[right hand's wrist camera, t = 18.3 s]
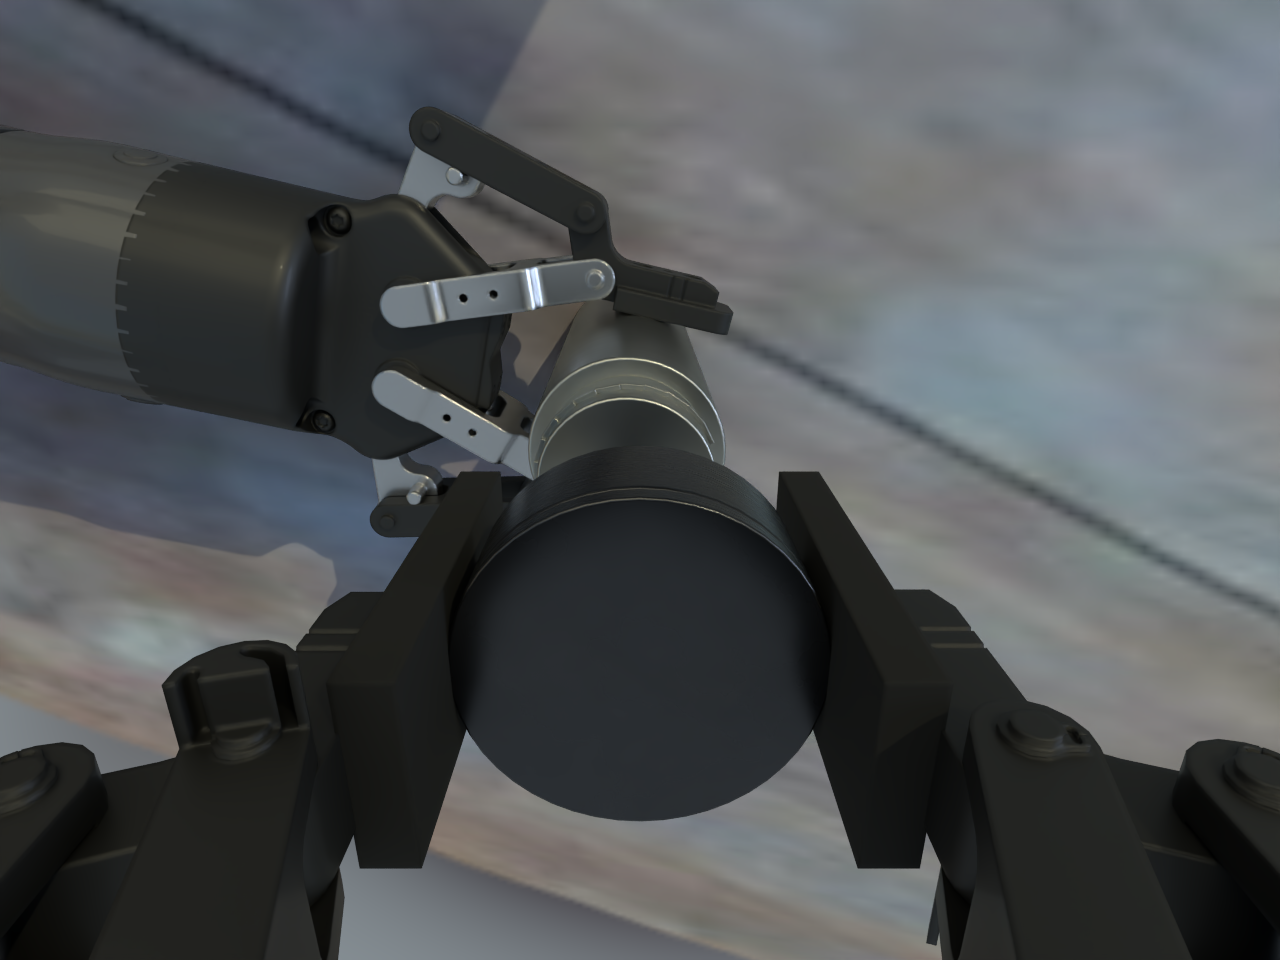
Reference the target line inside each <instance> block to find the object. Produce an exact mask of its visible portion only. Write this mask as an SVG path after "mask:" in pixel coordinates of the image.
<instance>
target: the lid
mask: <svg viewBox="0 0 1280 960" xmlns="http://www.w3.org/2000/svg"><path fill="white" fill-rule="evenodd" d="M448 656H449V666H450V676H451V684H452V692H453V699H454V701H455V704H456V707H457V710H458V713H459V715H460V718H461V719H462V721H463V723H464V725H465V727H466V729H467V731H468V733H469V735H470V736H471V737H472V739H473V740H474V742H475V743H476V744H477V746H478V747H479V748H480V750H481V751H482V753H483V754H484V755H485V756H486V757H487V758H488V759H489V760H490V761H491V762H492V763H493V764H494V765H495V766H496V767H497V768H498V769H499V770H500V771H501V772H503V773H504V774H505V775H506V776H507V777H509V778H510V779H511V780H512V781H513V782H515V783H517V784H518V785H520V786H521V787H523V788H524V789H526V790H527V791H529V792H530V793H532V794H534V795H536V796H538V797H540V798H542V799H544V800H546V801H548V802H550V803H552V804H555V805H557V806H560V807H563V808H566V809H568V810H571V811H574V812H578V813H582V814H586V815H590V816H594V817H599V818H606V819H613V820H624V821H654V820H667V819H673V818H679V817H686V816H690V815H693V814H697V813H701V812H705V811H708V810H711V809H714V808H716V807H719V806H722V805H724V804H727V803H729V802H731V801H733V800H735V799H737V798H739V797H741V796H743V795H745V794H747V793H749V792H750V791H752V790H754V789H755V788H757V787H758V786H760V785H761V784H763V783H764V782H766V781H767V780H768V779H770V778H771V777H772V776H773V775H774V774H775V773H777V772H778V771H779V770H780V769H781V768H783V767H784V766H785V765H786V764H787V763H788V761H789V760H790V759H791V758H792V757H793V756H794V755H795V754H796V753H797V752H798V751H799V749H800V748H801V746H802V745H803V744H804V742H805V741H806V739H807V738H808V736H809V735H810V734H811V732H812V730H813V728H814V726H815V724H816V722H817V720H818V718H819V716H820V714H821V712H822V709H823V706H824V703H825V700H826V695H827V687H828V678H829V669H830V659H831V638H830V630H829V627H828V623H827V620H826V616H825V613H824V609H823V607H822V605H821V603H820V600H819V598H818V596H817V594H816V591H815V589H814V587H813V585H812V582H811V580H810V578H809V576H808V573H807V571H806V569H805V567H804V564H803V562H802V560H801V558H800V555H799V553H798V551H797V549H796V546H795V544H794V542H793V540H792V538H791V536H790V533H789V531H788V529H787V527H786V525H785V523H784V522H783V520H782V519H781V517H780V516H779V514H778V513H777V511H776V510H775V508H774V507H773V506H772V505H771V504H770V503H769V501H768V500H767V499H766V498H765V497H764V496H763V495H762V494H761V493H760V492H759V491H758V490H757V489H756V488H755V487H753V486H752V485H751V484H750V483H749V482H748V481H746V480H745V479H744V478H742V477H741V476H739V475H738V474H736V473H735V472H733V471H731V470H730V469H728V468H727V467H725V466H723V465H720V464H718V463H716V462H714V461H712V460H710V459H708V458H705V457H702V456H699V455H696V454H693V453H690V452H687V451H683V450H677V449H672V448H666V447H659V446H641V445H637V446H622V447H613V448H608V449H603V450H597V451H593V452H590V453H587V454H584V455H581V456H578V457H575V458H572V459H570V460H568V461H565V462H563V463H561V464H559V465H557V466H555V467H553V468H551V469H550V470H548V471H547V472H545V473H543V474H542V475H540V476H539V477H537V478H536V479H534V480H533V481H532V482H531V483H530V484H528V485H527V486H526V487H525V488H524V489H523V490H521V491H520V492H519V493H518V494H517V495H516V496H515V497H514V499H513V500H512V501H511V502H510V503H509V504H508V505H507V507H506V508H505V509H504V510H503V512H502V513H501V515H500V516H499V518H498V520H497V521H496V523H495V524H494V526H493V528H492V530H491V532H490V534H489V536H488V539H487V541H486V543H485V545H484V548H483V550H482V552H481V554H480V557H479V559H478V561H477V564H476V566H475V568H474V570H473V573H472V575H471V577H470V580H469V582H468V584H467V587H466V589H465V591H464V593H463V596H462V598H461V600H460V603H459V605H458V607H457V609H456V612H455V616H454V620H453V623H452V627H451V630H450V636H449V645H448Z"/></svg>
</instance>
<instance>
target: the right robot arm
mask: <svg viewBox="0 0 1280 960" xmlns="http://www.w3.org/2000/svg"><path fill="white" fill-rule="evenodd" d="M776 511H777V513H778V514H779V516H780V517H781V519H782V520H783V522H784V523H785V525H786V527H787V529H788V531H789V533H790V536H791V538H792V540H793V542H794V544H795V546H796V549H797V551H798V553H799V555H800V558H801V560H802V562H803V564H804V567H805V569H806V571H807V573H808V576H809V578H810V580H811V582H812V585H813V587H814V589H815V591H816V594H817V596H818V598H819V600H820V603H821V605H822V607H823V609H824V613H825V616H826V620H827V623H828V627H829V630H830V638H831V659H830V669H829V678H828V687H827V695H826V700H825V703H824V706H823V709H822V712H821V714H820V716H819V718H818V720H817V722H816V724H815V726H814V728H813V731H814V734H815V737H816V740H817V743H818V746H819V749H820V752H821V756H822V759H823V762H824V765H825V768H826V771H827V774H828V777H829V780H830V783H831V787H832V790H833V793H834V796H835V799H836V802H837V805H838V808H839V811H840V814H841V818H842V821H843V824H844V827H845V830H846V833H847V836H848V839H849V842H850V846H851V849H852V852H853V855H854V858H855V861H856V864H857V867H858V868H920V864H921V859H922V853H923V848H924V843H925V837H926V832H927V834H928V837H929V839H930V841H931V843H932V846H933V848H934V850H935V852H936V855H937V857H938V859H939V861H940V864H941V868H940V873H939V878H938V883H937V888H936V893H935V898H934V903H933V908H932V913H931V919H930V924H929V929H928V936H927V942H926V943H928V944H932V945H937V940H938V935H939V934H940V943H941V952H942V960H1280V754H1279V753H1277V752H1274V751H1271V750H1269V749H1266V748H1260V747H1259V746H1256V745H1252V744H1248V743H1244V742H1237V741H1230V740H1222V739H1214V740H1207V741H1199V742H1197V743H1195V744H1194V745H1193V746H1192V747H1190V748H1189V749H1188V750H1186V753H1185V756H1184V759H1183V762H1182V765H1181V768H1180V771H1176V770H1171V769H1166V768H1162V767H1157V766H1152V765H1148V764H1143V763H1138V762H1133V761H1129V760H1124V759H1120V758H1116V757H1113V756H1109V755H1105V754H1103V752H1102V750H1101V747H1100V746H1099V745H1098V743H1097V742H1096V741H1095V739H1094V738H1093V736H1092V735H1091V734H1090V732H1089V731H1088V730H1086V729H1085V728H1084V727H1082V726H1081V725H1080V724H1078V723H1077V722H1076V721H1074V720H1073V719H1072V718H1070V717H1069V716H1066V715H1064V714H1062V713H1060V712H1058V711H1056V710H1054V709H1052V708H1049V707H1047V706H1044V705H1040V704H1036V703H1033V702H1029V701H1027V700H1026V699H1025V698H1024V696H1023V695H1022V694H1021V692H1020V691H1019V690H1018V688H1017V687H1016V686H1015V685H1014V683H1013V682H1012V681H1011V679H1010V678H1009V677H1008V675H1007V674H1006V673H1005V671H1004V670H1003V669H1002V667H1001V666H1000V665H999V664H998V662H997V661H996V660H995V658H994V657H993V656H992V654H991V653H990V652H989V650H988V649H987V648H984V644H983V642H982V641H981V640H980V639H979V637H978V636H977V635H976V633H975V632H974V631H971V627H970V625H969V624H968V623H967V621H966V620H965V619H964V618H963V616H962V615H961V614H960V612H959V611H958V610H957V608H956V607H955V606H953V605H952V604H950V603H949V602H947V601H946V600H944V599H943V598H941V597H939V596H938V595H936V594H935V593H933V592H932V591H930V590H894V589H893V587H892V585H891V584H890V582H889V581H888V579H887V578H886V576H885V575H884V573H883V571H882V570H881V568H880V567H879V565H878V564H877V562H876V560H875V559H874V557H873V556H872V554H871V553H870V551H869V550H868V548H867V546H866V545H865V543H864V542H863V540H862V539H861V537H860V535H859V534H858V532H857V531H856V529H855V528H854V526H853V525H852V523H851V521H850V520H849V518H848V517H847V515H846V514H845V512H844V510H843V509H842V507H841V506H840V504H839V503H838V501H837V500H836V498H835V496H834V495H833V493H832V492H831V490H830V489H829V487H828V485H827V484H826V482H825V481H824V479H823V478H822V476H821V475H820V473H819V472H779V481H778V495H777V508H776ZM502 512H503V501H502V487H501V474H500V472H460V474H459V475H458V477H457V478H456V480H455V482H454V483H453V485H452V486H451V488H450V489H449V491H448V493H447V494H446V496H445V497H444V499H443V500H442V502H441V503H440V505H439V507H438V508H437V510H436V511H435V513H434V514H433V516H432V518H431V519H430V521H429V522H428V524H427V525H426V527H425V528H424V530H423V532H422V533H421V535H420V536H419V538H418V539H417V541H416V543H415V544H414V546H413V547H412V549H411V550H410V552H409V553H408V555H407V557H406V558H405V560H404V561H403V563H402V564H401V566H400V568H399V569H398V571H397V572H396V574H395V575H394V577H393V578H392V580H391V582H390V583H389V585H388V586H387V588H386V589H385V591H384V592H350V593H349V594H347V595H346V596H344V597H343V598H341V599H339V600H338V601H336V602H335V603H333V604H332V605H330V606H329V607H327V608H326V609H324V611H323V612H322V613H321V615H320V616H319V617H318V619H317V620H316V621H315V623H314V624H313V625H312V627H311V628H310V629H309V634H305V636H304V637H303V638H302V640H301V641H300V642H299V644H298V645H297V646H296V651H294V650H293V649H292V648H290V647H289V646H288V645H287V644H283V643H279V642H274V641H270V640H259V641H243V642H238V643H234V644H230V645H225V646H221V647H218V648H215V649H213V650H210V651H208V652H205V653H203V654H201V655H198V656H196V657H194V658H192V659H191V660H189V661H188V662H186V663H185V664H183V665H182V666H180V667H179V668H177V669H176V670H174V671H173V672H172V674H171V675H170V676H169V677H168V678H167V679H166V681H165V682H164V683H163V684H162V688H163V692H164V695H165V699H166V703H167V706H168V710H169V713H170V717H171V720H172V724H173V727H174V731H175V734H176V738H177V742H178V745H179V751H178V753H177V756H176V757H175V758H172V759H168V760H164V761H161V762H157V763H152V764H147V765H143V766H138V767H133V768H129V769H124V770H120V771H115V772H110V773H105V774H101V773H100V770H99V767H98V764H97V761H96V758H95V755H94V753H92V752H91V751H90V750H88V749H87V748H86V747H85V746H83V745H79V744H71V743H64V742H61V743H54V744H46V745H39V746H34V747H30V748H26V749H22V750H21V751H16V752H13V753H11V754H8V755H5V756H3V757H1V758H0V960H338V954H339V945H340V935H341V926H342V917H343V907H344V898H345V897H344V891H343V884H342V878H341V873H340V868H339V866H340V864H341V862H342V860H343V857H344V855H345V853H346V851H347V848H348V846H349V844H350V842H351V839H352V837H353V835H354V840H355V845H356V851H357V856H358V861H359V867H360V868H422V866H423V863H424V860H425V857H426V853H427V850H428V847H429V844H430V841H431V838H432V835H433V832H434V829H435V825H436V822H437V819H438V816H439V813H440V810H441V807H442V804H443V801H444V798H445V794H446V791H447V788H448V785H449V782H450V779H451V776H452V773H453V770H454V767H455V763H456V760H457V757H458V754H459V751H460V748H461V745H462V742H463V739H464V736H465V732H466V727H465V725H464V723H463V721H462V719H461V718H460V715H459V713H458V710H457V707H456V704H455V701H454V699H453V692H452V684H451V676H450V666H449V656H448V645H449V636H450V630H451V627H452V623H453V620H454V616H455V612H456V609H457V607H458V605H459V603H460V600H461V598H462V596H463V593H464V591H465V589H466V587H467V584H468V582H469V580H470V577H471V575H472V573H473V570H474V568H475V566H476V564H477V561H478V559H479V557H480V554H481V552H482V550H483V548H484V545H485V543H486V541H487V539H488V536H489V534H490V532H491V530H492V528H493V526H494V524H495V523H496V521H497V520H498V518H499V516H500V515H501V513H502Z"/></svg>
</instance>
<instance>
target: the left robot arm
mask: <svg viewBox="0 0 1280 960" xmlns="http://www.w3.org/2000/svg"><path fill="white" fill-rule="evenodd" d="M409 132H410V136H411V139H412V141H413V143H414V144H415V147H414V150H413V153H412V156H411V158H410V161H409V164H408V167H407V169H406V172H405V175H404V178H403V181H402V183H401V186H400V189H399V192H398V194H389V195H384V196H382V197H379V198H376V199H372V200H358V199H352V198H348V197H344V196H340V195H335V194H331V193H327V192H323V191H318V190H314V189H310V188H306V187H301V186H297V185H293V184H289V183H284V182H280V181H276V180H272V179H268V178H263V177H259V176H255V175H251V174H246V173H242V172H238V171H234V170H230V169H225V168H221V167H217V166H213V165H208V164H204V163H200V162H194V161H190V160H186V159H182V158H178V157H174V156H169V155H165V154H161V153H157V152H153V151H149V150H145V149H140V148H136V147H132V146H128V145H123V144H118V143H113V142H108V141H100V140H92V139H84V138H75V137H62V136H52V135H45V134H40V133H35V132H29V131H24V130H21V129H17V128H13V127H8V126H4V125H0V361H1V362H4V363H7V364H11V365H15V366H19V367H23V368H26V369H29V370H32V371H35V372H38V373H40V374H43V375H46V376H49V377H52V378H55V379H58V380H61V381H64V382H67V383H71V384H74V385H77V386H81V387H85V388H90V389H94V390H98V391H103V392H108V393H113V394H118V395H121V396H122V397H125V398H126V399H128V400H131V401H135V402H140V403H146V404H166V405H171V406H176V407H181V408H186V409H191V410H196V411H200V412H206V413H210V414H215V415H220V416H225V417H230V418H235V419H240V420H244V421H249V422H254V423H259V424H264V425H269V426H274V427H278V428H283V429H288V430H293V431H299V432H306V433H316V434H324V435H329V436H333V437H335V438H338V439H340V440H342V441H343V442H345V443H347V444H348V445H350V446H351V447H353V448H354V449H355V450H357V451H358V452H359V453H361V454H362V455H364V456H366V457H369V458H372V464H373V470H374V476H375V482H376V488H377V494H378V504H377V506H376V508H375V509H374V510H373V511H372V513H371V515H370V523H371V526H372V528H373V529H374V531H375V532H377V533H378V534H379V535H381V536H384V537H419V536H420V535H421V533H422V532H423V530H424V528H425V527H426V525H427V524H428V522H429V521H430V519H431V518H432V516H433V514H434V513H435V511H436V510H437V508H438V507H439V505H440V503H441V502H442V500H443V499H444V497H445V496H446V494H447V493H448V491H449V489H450V488H451V486H452V485H453V483H454V482H455V480H456V478H442V476H441V474H440V472H439V471H438V470H437V469H435V468H434V467H432V466H429V465H422V464H419V463H416V462H415V461H413V460H412V459H411V458H410V457H409V455H408V454H407V453H408V452H411V451H413V450H415V449H418V448H420V447H422V446H425V445H427V444H429V443H432V442H434V441H436V440H439V439H441V438H444V437H445V438H447V439H449V440H450V441H452V442H454V443H456V444H458V445H459V446H461V447H463V448H465V449H466V450H468V451H470V452H472V453H473V454H475V455H477V456H479V457H480V458H482V459H484V460H486V461H488V462H490V463H493V464H504V465H506V466H508V467H510V468H512V469H513V470H515V471H517V472H519V473H520V474H522V475H524V476H506V477H501V487H502V501H503V510H504V509H505V508H506V507H507V505H508V504H509V503H510V502H511V501H512V500H513V499H514V497H515V496H516V495H517V494H518V493H519V492H520V491H521V490H523V489H524V488H525V487H526V486H527V485H528V484H530V483H531V482H532V481H533V480H534V479H533V476H532V474H531V469H530V464H529V457H528V442H529V434H530V429H531V425H532V422H533V419H534V417H535V415H533V414H532V413H531V412H530V411H529V410H528V408H527V407H526V406H525V405H524V404H523V403H521V402H520V401H518V400H516V399H515V398H513V397H511V396H510V395H508V394H506V393H505V392H503V391H501V390H500V384H501V378H502V362H501V353H500V348H501V345H502V343H503V341H504V339H505V336H506V334H507V332H508V330H509V328H510V323H511V317H512V313H516V312H524V311H530V310H535V309H538V308H541V307H546V306H553V305H561V304H569V303H577V302H585V301H593V300H600V299H602V300H607V301H611V302H614V304H613V310H615V311H619V312H623V313H628V314H632V315H636V316H643V317H647V318H651V319H654V320H658V321H663V322H667V323H672V324H676V325H680V326H685V327H689V328H693V329H698V330H702V331H707V332H711V333H715V334H721V335H727V334H728V331H729V327H730V323H731V320H732V316H733V312H732V310H731V309H730V308H729V306H727V305H725V304H722V303H719V302H717V299H718V295H719V292H718V290H717V289H716V288H715V287H714V286H713V285H711V284H710V283H709V282H707V281H706V280H705V279H703V278H702V277H699V276H695V275H690V274H686V273H682V272H678V271H673V270H669V269H665V268H661V267H656V266H652V265H648V264H644V263H639V262H635V261H631V260H628V259H626V258H624V257H623V256H621V255H620V254H619V253H618V252H617V250H616V249H615V247H614V245H613V241H612V236H611V228H610V221H609V213H608V204H607V201H606V199H605V198H604V197H603V195H602V194H600V193H599V192H597V191H595V190H593V189H592V188H590V187H588V186H586V185H584V184H582V183H580V182H579V181H577V180H575V179H573V178H571V177H569V176H567V175H566V174H564V173H562V172H560V171H558V170H556V169H554V168H552V167H551V166H549V165H547V164H545V163H543V162H541V161H539V160H538V159H536V158H534V157H532V156H530V155H528V154H526V153H525V152H523V151H521V150H519V149H517V148H515V147H513V146H512V145H510V144H508V143H506V142H504V141H502V140H500V139H498V138H497V137H495V136H493V135H491V134H489V133H487V132H485V131H484V130H482V129H480V128H478V127H476V126H474V125H472V124H471V123H469V122H467V121H465V120H463V119H461V118H459V117H458V116H455V115H453V114H450V113H447V112H445V111H442V110H440V109H437V108H434V107H423V108H421V109H419V110H417V111H416V112H415V113H414V114H413V116H412V118H411V120H410V124H409ZM485 184H486V185H488V186H490V187H491V188H493V189H495V190H497V191H499V192H501V193H503V194H505V195H507V196H509V197H511V198H513V199H514V200H516V201H518V202H520V203H522V204H524V205H526V206H528V207H530V208H532V209H534V210H535V211H537V212H539V213H541V214H543V215H545V216H547V217H549V218H551V219H553V220H555V221H556V222H558V223H560V224H562V225H564V226H566V227H568V229H569V236H570V242H571V249H572V255H568V256H560V257H552V258H535V259H527V260H519V261H511V262H504V263H496V264H488V265H487V263H486V262H485V261H484V260H483V259H482V258H481V257H480V256H479V255H478V254H477V253H476V252H475V250H474V249H473V248H472V247H471V246H470V245H469V244H468V243H467V242H466V241H465V240H464V238H463V237H462V236H461V235H460V234H459V233H458V232H457V231H456V230H455V229H454V228H453V227H452V225H451V224H450V223H449V222H448V221H447V220H446V219H445V218H444V217H443V216H442V215H441V213H440V212H439V211H438V210H437V209H436V208H435V207H434V206H435V204H436V202H437V201H438V200H439V199H440V198H441V197H443V196H445V195H451V196H454V197H457V198H469V197H473V196H476V195H477V194H479V193H480V192H481V191H482V189H483V187H484V185H485ZM491 405H492V406H491ZM472 429H474V430H475V431H473V430H472Z"/></svg>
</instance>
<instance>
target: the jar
mask: <svg viewBox="0 0 1280 960" xmlns="http://www.w3.org/2000/svg"><path fill="white" fill-rule="evenodd" d="M613 304H614V302H611V301H607V300H602V299H600V300H593V301H586V302H585V303H584V304H583V305H582V307H581V308H580V309H579V311H578V312H577V314H576V316H575V318H574V320H573V323H572V325H571V328H570V330H569V333H568V335H567V338H566V340H565V343H564V345H563V347H562V350H561V352H560V355H559V357H558V360H557V362H556V365H555V367H554V370H553V372H552V374H551V377H550V379H549V382H548V384H547V387H546V389H545V392H544V394H543V397H542V399H541V401H540V404H539V406H538V409H537V411H536V414H535V417H534V419H533V422H532V425H531V429H530V434H529V442H528V457H529V464H530V469H531V474H532V476H533V479H536V478H537V477H539V476H540V475H542V474H543V473H545V472H547V471H548V470H550V469H551V468H553V467H555V466H557V465H559V464H561V463H563V462H565V461H568V460H570V459H572V458H575V457H578V456H581V455H584V454H587V453H590V452H593V451H597V450H603V449H608V448H613V447H622V446H637V445H641V446H659V447H666V448H672V449H677V450H683V451H687V452H690V453H693V454H696V455H699V456H702V457H705V458H708V459H710V460H712V461H714V462H716V463H718V464H720V465H723V466H724V463H725V450H726V446H725V436H724V431H723V427H722V423H721V420H720V418H719V415H718V412H717V410H716V407H715V405H714V402H713V399H712V397H711V394H710V391H709V389H708V386H707V384H706V381H705V378H704V376H703V373H702V371H701V368H700V365H699V363H698V360H697V357H696V355H695V352H694V350H693V347H692V344H691V342H690V339H689V337H688V334H687V331H686V329H685V326H680V325H676V324H672V323H667V322H663V321H658V320H654V319H651V318H647V317H643V316H636V315H632V314H628V313H623V312H619V311H615V310H613Z"/></svg>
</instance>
